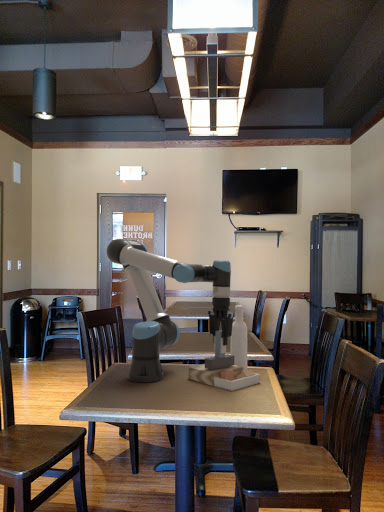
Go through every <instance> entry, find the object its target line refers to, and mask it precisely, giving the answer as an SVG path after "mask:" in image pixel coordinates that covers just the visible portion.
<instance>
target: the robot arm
mask: <svg viewBox="0 0 384 512" xmlns="http://www.w3.org/2000/svg"><path fill="white" fill-rule="evenodd" d="M106 256H107V258H108V260H110V261H111V262H112V263H113V264H118V265H122V267H123V270H124V272H126V273H128V274H129V277H130V278H131V282H132V284H133V286H134V288H135V289H134V290H135V292H136V295H137V297H138V299H139V302H140V305H141V307H142V310H143V313H144V316H145V318H146V321H141V322H137V323H135V324H134V325H133V327H132V333H131V340H132V343H131V346H132V347H131V349H132V350H131V362H130V365H129V368H128V372H127V379H128V380H129V381H131V382H135V383H155V382H159V381H162V380H163V379H164V370H163V367H162V364H161V361H160V350H163V349H167V348H170V347H172V346H173V345H176V343H178V340H179V339H180V334H181V333H180V328H179V326H178V324H177V323H176V322H174V321H173V320H171V317H170V314H168V313H166V312H165V310H164V309H163V306H162V304H161V300H160V298H159V296H158V293H157V291H156V288H155V285H154V283H153V280H152V277H151V276H150V272H152V273H156V274H158V275H161V276H165V277H167V278H171V279H174V280H175V281H177V282H178V283H181V284H187V283H212V296H213V297H211V298H212V299H211V301H212V303H211V304H212V306H213V307H212V309H211V310H207V314H208V323H209V334H210V335H212V336H213V339H212V340H213V352H214V353H215V333H216V331H218V330H220V328H221V330H222V337H221V352H220V353H225V354H226V353H227V346H228V338H231V335H232V324H233V322H234V319H235V318H234V317H235V312H234V313H233V312H232V311H231V312H230V306H231V298H230V296H231V276H232V275H231V274H232V270H231V269H232V268H231V267H232V266H231V261H229V260H213V262H212V264H197V263H194V264H192V263H191V264H190V263H186V262H183V261H178V260H176V259H173V258H172V259H171V258H168V257H165V256H162V255H158V254H156V253H151V252H149V251H148V248H147V246H146V245H145V244H144V243H143V242H141V241H140V240H136V239H124V238H115V239H113V240H111V241H110V242H109V243H108V245H107V248H106ZM220 326H221V327H220Z"/></svg>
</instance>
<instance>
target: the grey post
mask: <svg viewBox="0 0 384 512" xmlns="http://www.w3.org/2000/svg"><path fill="white" fill-rule="evenodd" d="M221 337H222V329H221V330H220V329H219V330H218V331H216V333H215V352H214V356H210V357H206V358H204V364H205V368H206V369H210V370H214V369H218V368H223V367H228V366H232V365H234V355H230V353H229V354H226V353H220V352H221Z"/></svg>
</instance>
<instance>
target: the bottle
mask: <svg viewBox="0 0 384 512" xmlns="http://www.w3.org/2000/svg"><path fill="white" fill-rule="evenodd" d="M234 317H235V318H234V320H233V324H232V335H231V336H230V353H229V355H234V365H237V366H242V367H243V370H244V371H246V370H248V326H247V324H246V322H245V321H244V306H243V305H239V304H238V305H237V304H236V305H235V307H234Z"/></svg>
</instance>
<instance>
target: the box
mask: <svg viewBox="0 0 384 512" xmlns="http://www.w3.org/2000/svg"><path fill="white" fill-rule="evenodd" d="M243 371H244V370H243ZM243 371H242V372H243ZM253 373H254V375H252V376H248V377H244V378H241V379H235V380H233V381H229V380H225V379H221V378H218V377H214V386H213V387H216V388H217V389H222V390H226V391H228V392H233V391H237V390H239V389H240V390H241V389H243V388H247V387H250V386H254V385H257V384H260V383H261V374H259V373H257V372H253Z"/></svg>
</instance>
